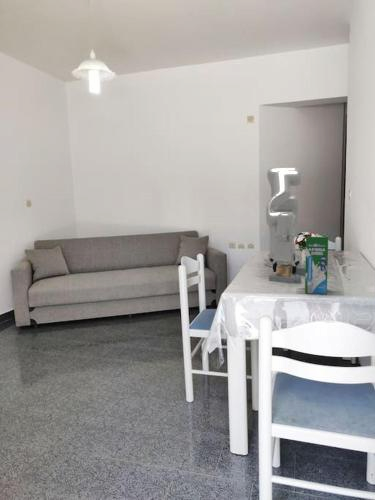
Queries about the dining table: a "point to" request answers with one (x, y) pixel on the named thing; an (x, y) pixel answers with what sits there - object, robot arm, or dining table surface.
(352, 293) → the dining table surface
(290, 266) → the block
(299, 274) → the bay
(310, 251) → the milk carton
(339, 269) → the dining table surface
